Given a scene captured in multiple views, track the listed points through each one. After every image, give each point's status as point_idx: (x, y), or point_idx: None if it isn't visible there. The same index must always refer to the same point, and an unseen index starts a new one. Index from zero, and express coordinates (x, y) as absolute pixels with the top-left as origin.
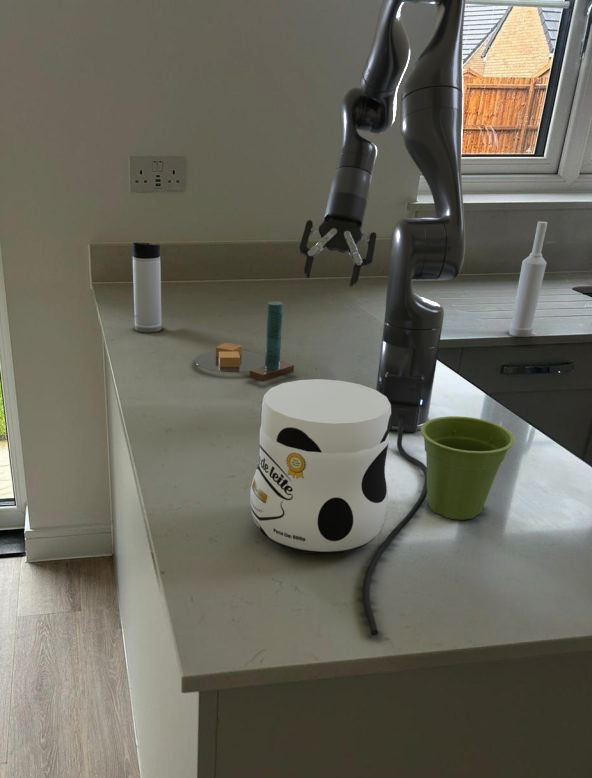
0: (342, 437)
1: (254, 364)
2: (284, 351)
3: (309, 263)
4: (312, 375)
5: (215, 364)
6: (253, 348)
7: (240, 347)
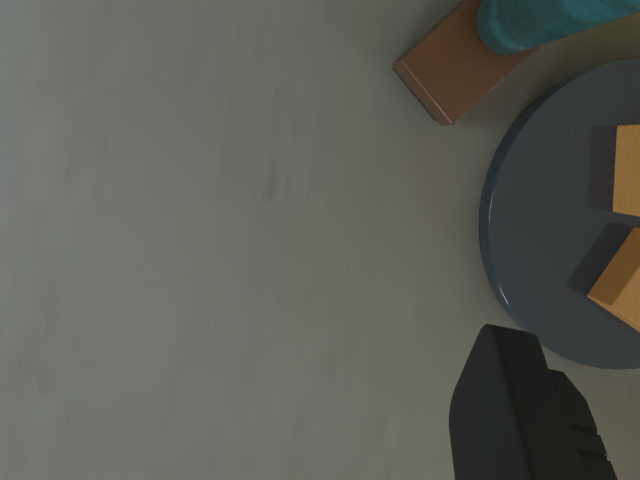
0: None
1: (550, 163)
2: (378, 426)
3: (569, 443)
4: (298, 94)
5: None
6: None
7: (617, 293)
